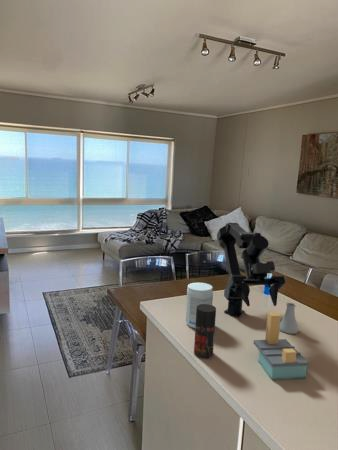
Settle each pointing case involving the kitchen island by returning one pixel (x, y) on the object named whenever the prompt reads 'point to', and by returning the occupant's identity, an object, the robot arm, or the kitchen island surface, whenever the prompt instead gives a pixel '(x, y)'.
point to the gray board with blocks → (278, 346)
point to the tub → (282, 370)
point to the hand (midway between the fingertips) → (262, 305)
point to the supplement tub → (197, 300)
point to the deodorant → (204, 331)
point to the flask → (289, 320)
